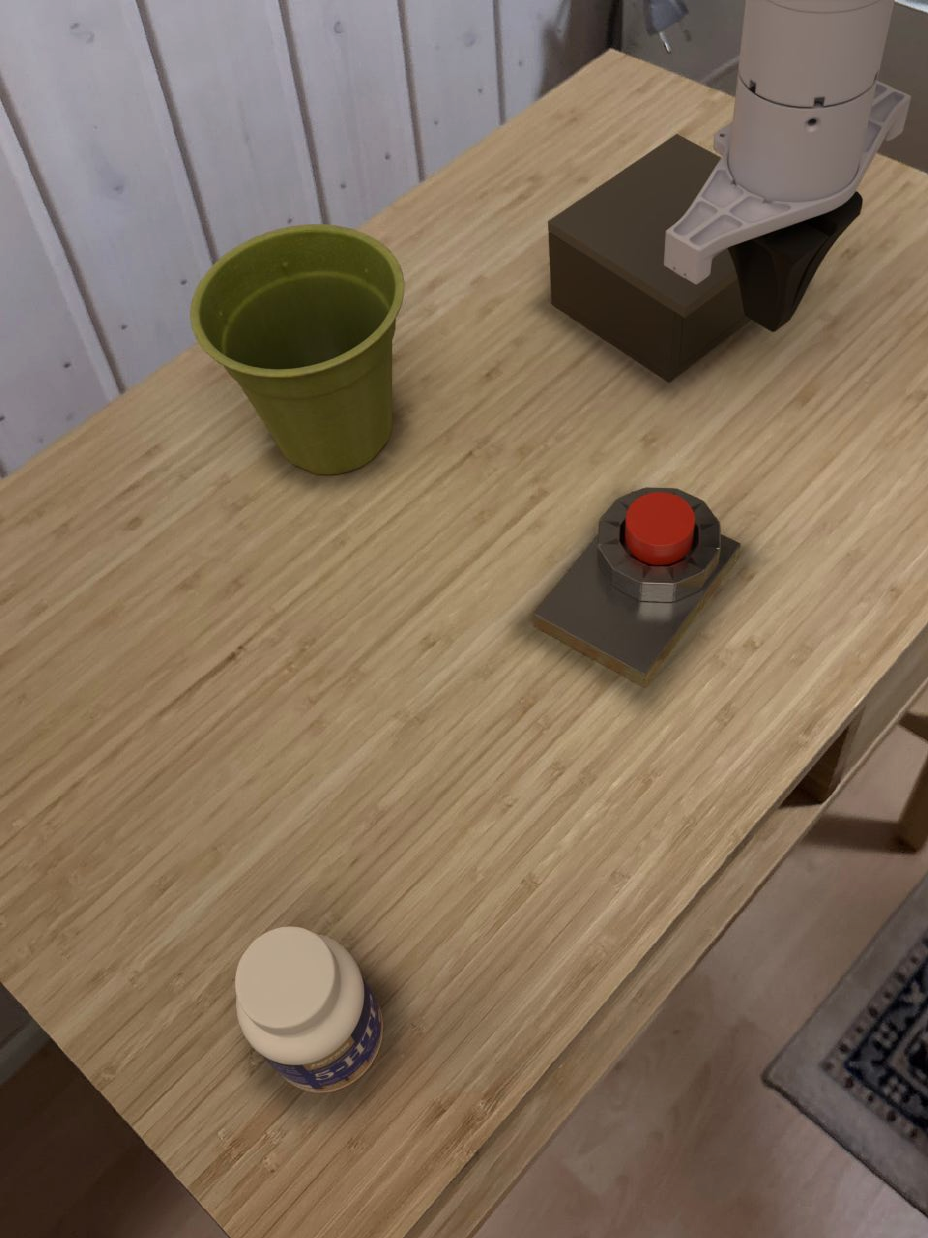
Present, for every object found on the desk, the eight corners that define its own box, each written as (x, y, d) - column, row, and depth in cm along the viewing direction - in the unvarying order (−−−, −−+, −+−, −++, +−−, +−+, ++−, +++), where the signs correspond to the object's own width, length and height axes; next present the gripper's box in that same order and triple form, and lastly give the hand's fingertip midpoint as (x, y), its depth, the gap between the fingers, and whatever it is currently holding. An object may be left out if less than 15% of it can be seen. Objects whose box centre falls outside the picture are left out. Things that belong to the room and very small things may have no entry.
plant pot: (207, 430, 73) (150, 292, 64) (359, 340, 76) (326, 195, 67) (308, 541, 67) (261, 408, 58) (467, 439, 70) (448, 296, 61)
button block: (633, 501, 67) (635, 468, 64) (741, 554, 64) (747, 521, 61) (533, 626, 63) (531, 595, 60) (644, 688, 60) (646, 658, 57)
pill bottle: (341, 1118, 50) (297, 1075, 42) (246, 1054, 52) (189, 1003, 44) (407, 1009, 52) (376, 950, 45) (314, 952, 54) (269, 886, 46)
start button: (647, 502, 63) (648, 481, 62) (705, 529, 62) (707, 509, 60) (612, 546, 62) (612, 526, 60) (670, 576, 60) (672, 556, 59)
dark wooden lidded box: (791, 288, 75) (805, 214, 70) (669, 383, 71) (674, 311, 67) (671, 218, 80) (675, 144, 75) (550, 303, 76) (548, 232, 71)
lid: (815, 220, 70) (817, 208, 69) (684, 318, 66) (685, 307, 66) (676, 144, 75) (676, 132, 74) (547, 231, 71) (547, 220, 71)
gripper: (842, -37, 52) (797, 214, 63) (616, 110, 48) (612, 352, 59) (977, 17, 49) (904, 272, 60) (748, 181, 44) (717, 423, 56)
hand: (767, 316), depth 59 cm, fingers closed
